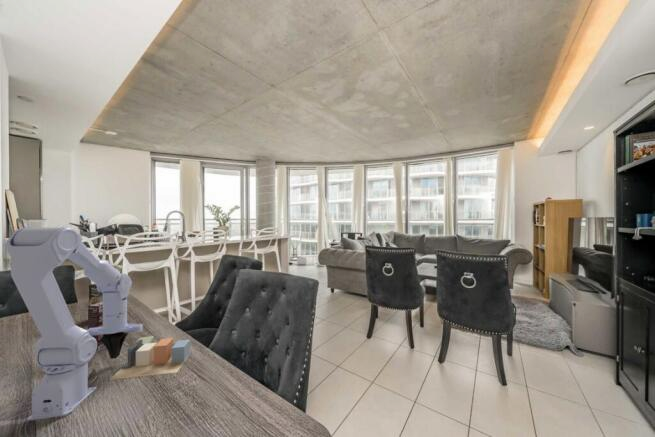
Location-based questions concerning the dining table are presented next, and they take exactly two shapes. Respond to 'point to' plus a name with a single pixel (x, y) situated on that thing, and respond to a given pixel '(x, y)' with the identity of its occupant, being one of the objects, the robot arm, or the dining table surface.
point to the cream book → (145, 354)
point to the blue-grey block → (180, 350)
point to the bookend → (132, 354)
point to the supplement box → (96, 321)
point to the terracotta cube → (163, 351)
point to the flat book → (146, 339)
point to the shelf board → (148, 370)
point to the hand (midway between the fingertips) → (115, 356)
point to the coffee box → (94, 295)
